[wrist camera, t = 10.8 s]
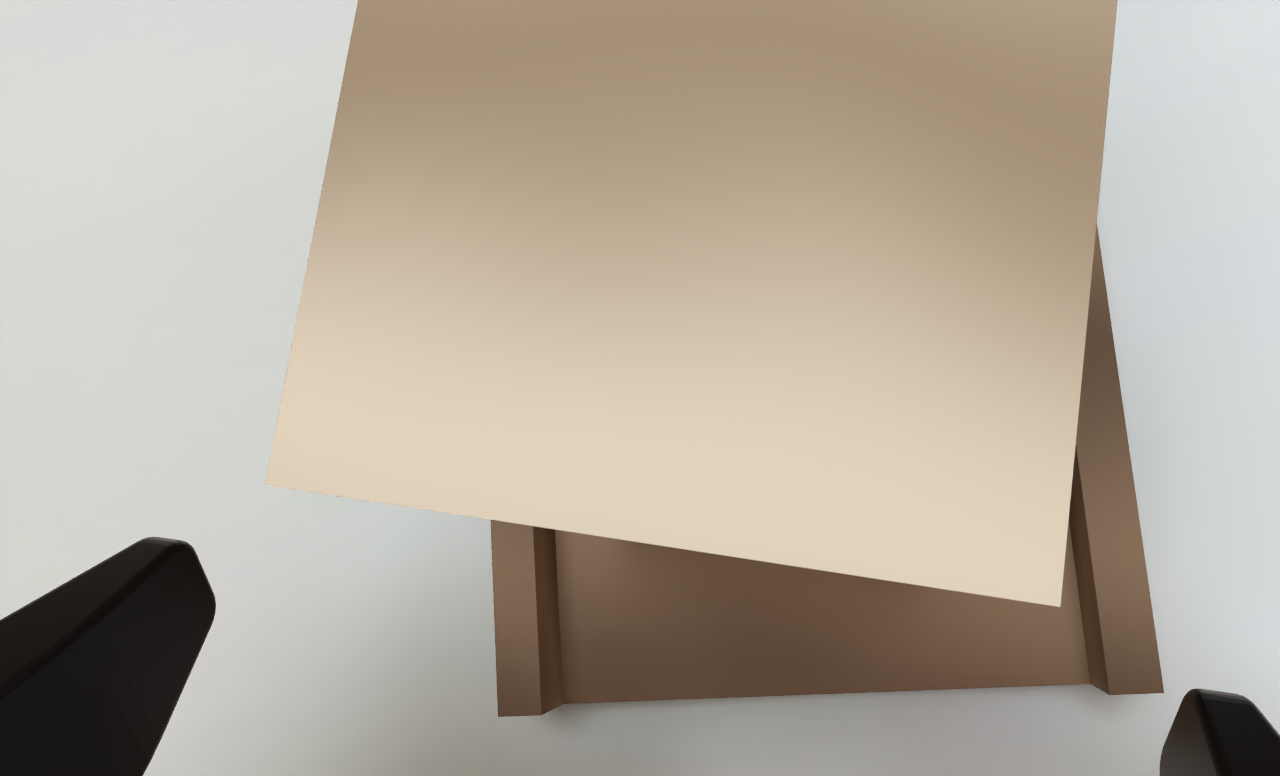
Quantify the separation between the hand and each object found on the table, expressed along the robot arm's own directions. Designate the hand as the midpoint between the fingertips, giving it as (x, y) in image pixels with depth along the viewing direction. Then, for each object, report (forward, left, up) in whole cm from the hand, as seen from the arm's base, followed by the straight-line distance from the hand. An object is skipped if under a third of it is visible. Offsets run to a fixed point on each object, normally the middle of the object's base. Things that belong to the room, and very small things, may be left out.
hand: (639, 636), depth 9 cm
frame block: (+3, -1, -10) cm, 11 cm away
